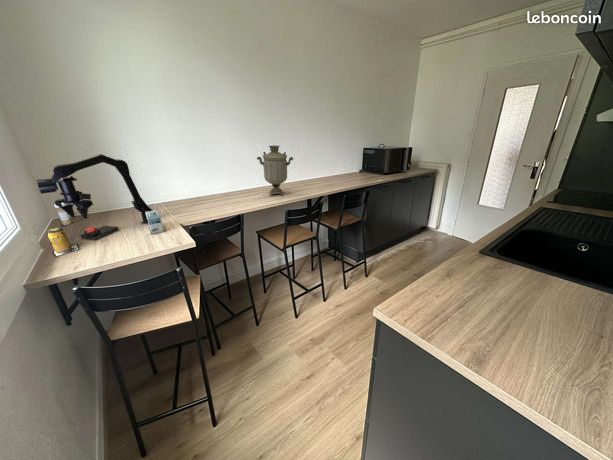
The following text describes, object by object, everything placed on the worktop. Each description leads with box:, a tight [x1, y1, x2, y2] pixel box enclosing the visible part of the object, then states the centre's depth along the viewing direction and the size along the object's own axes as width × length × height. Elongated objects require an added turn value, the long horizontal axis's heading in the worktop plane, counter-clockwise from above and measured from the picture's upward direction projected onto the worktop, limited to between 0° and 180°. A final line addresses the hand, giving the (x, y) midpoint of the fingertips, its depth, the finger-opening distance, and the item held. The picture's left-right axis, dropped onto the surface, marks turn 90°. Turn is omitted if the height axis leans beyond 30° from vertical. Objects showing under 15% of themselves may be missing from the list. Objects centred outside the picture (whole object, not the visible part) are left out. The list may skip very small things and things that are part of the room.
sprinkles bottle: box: [53, 203, 73, 226], centre depth 155 cm, size 5×5×13 cm
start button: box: [85, 226, 97, 233], centre depth 138 cm, size 4×4×2 cm
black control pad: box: [79, 225, 120, 241], centre depth 142 cm, size 10×14×4 cm
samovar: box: [256, 144, 294, 197], centre depth 213 cm, size 30×26×40 cm
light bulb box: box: [145, 209, 165, 235], centre depth 146 cm, size 11×7×11 cm, turn 35°
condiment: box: [47, 227, 79, 257], centre depth 123 cm, size 7×8×12 cm
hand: (79, 217), depth 137 cm, fingers open, 8 cm apart
